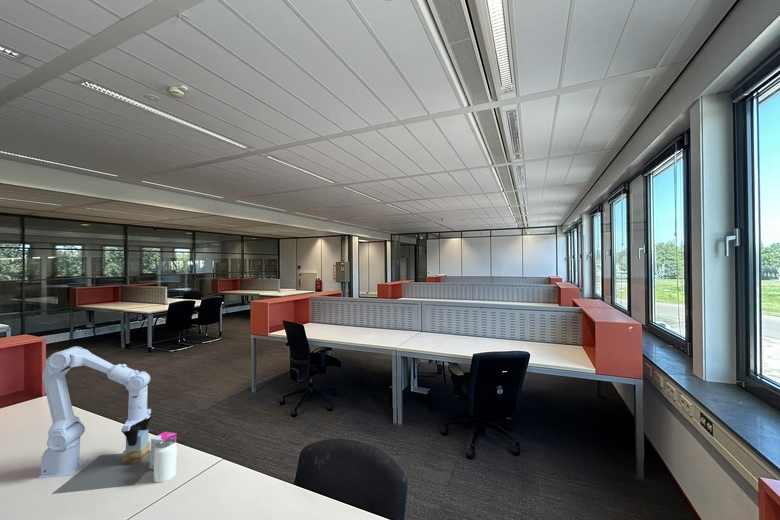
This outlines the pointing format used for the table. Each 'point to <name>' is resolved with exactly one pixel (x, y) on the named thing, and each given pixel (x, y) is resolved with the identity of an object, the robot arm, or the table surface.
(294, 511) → the table surface
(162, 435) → the supplement box
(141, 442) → the cube
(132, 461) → the slab lower
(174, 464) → the can
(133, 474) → the mat
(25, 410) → the table surface
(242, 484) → the table surface
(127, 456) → the slab upper
